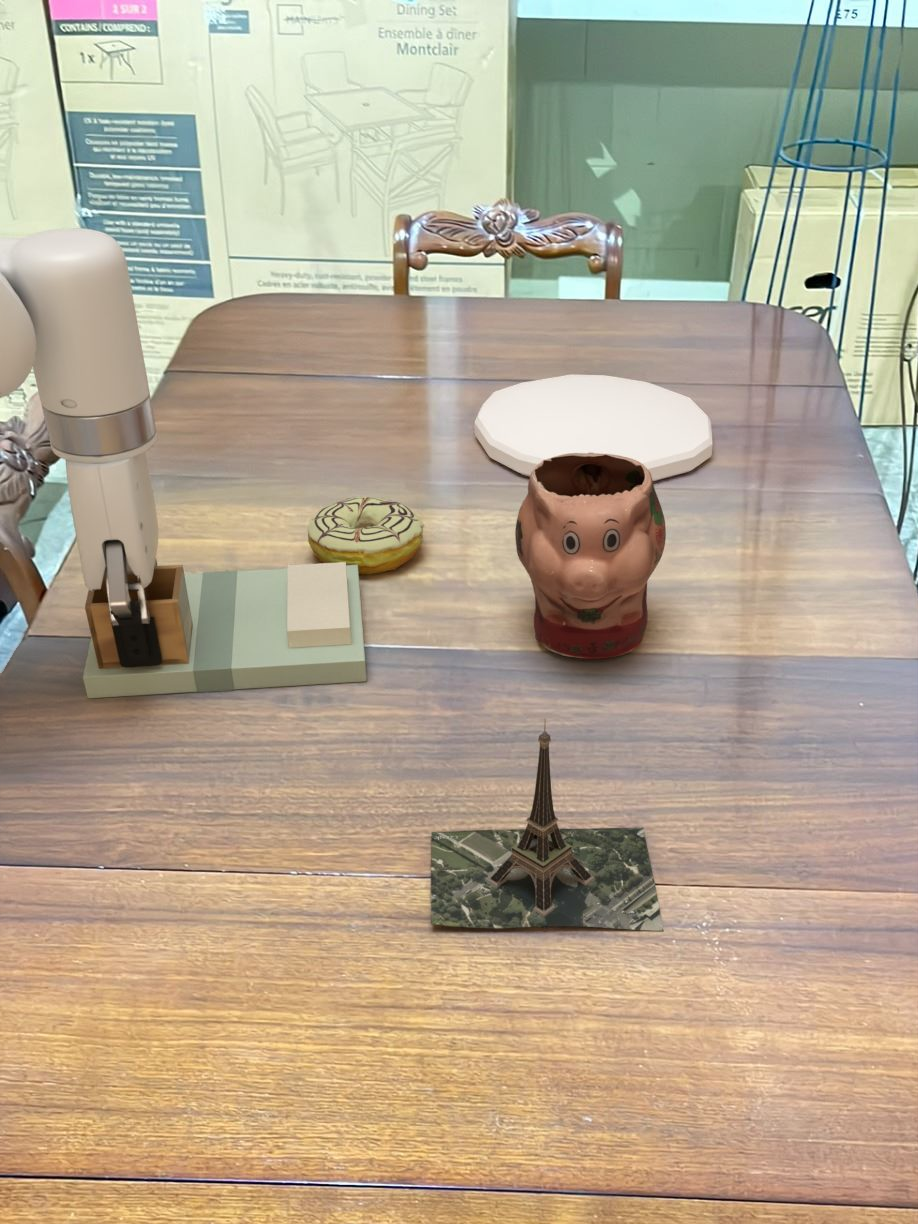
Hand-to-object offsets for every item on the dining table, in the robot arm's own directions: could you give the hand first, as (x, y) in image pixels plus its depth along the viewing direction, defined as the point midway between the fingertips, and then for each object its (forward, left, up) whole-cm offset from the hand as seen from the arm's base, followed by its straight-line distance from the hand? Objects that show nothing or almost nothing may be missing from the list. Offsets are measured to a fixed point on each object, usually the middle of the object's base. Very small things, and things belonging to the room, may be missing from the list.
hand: (145, 640), depth 109 cm
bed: (+6, +4, -3) cm, 8 cm away
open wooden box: (0, 0, -1) cm, 1 cm away
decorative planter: (+36, +3, -3) cm, 37 cm away
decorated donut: (+18, +18, -3) cm, 26 cm away
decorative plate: (+43, +41, -3) cm, 60 cm away
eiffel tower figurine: (+28, -30, -3) cm, 41 cm away
